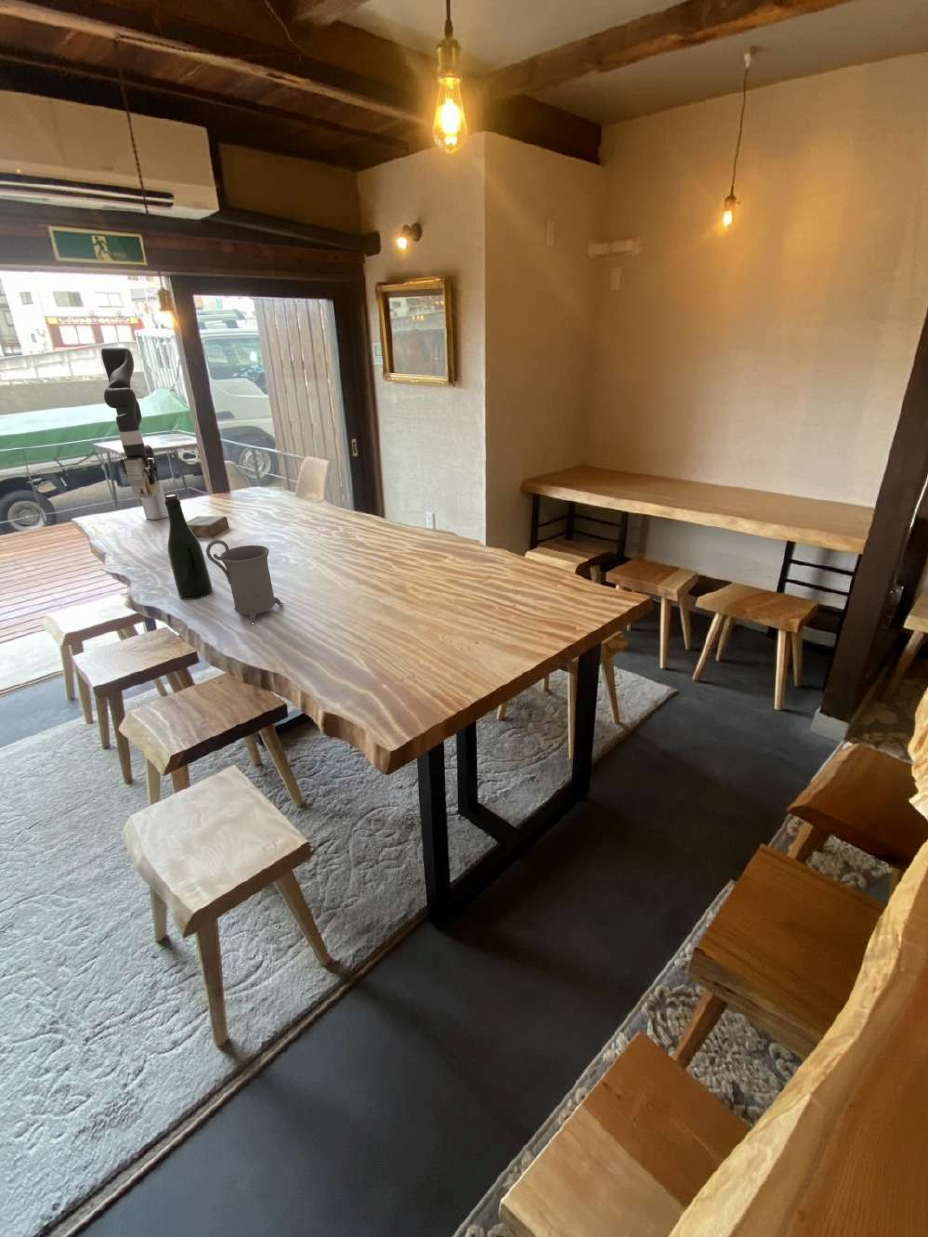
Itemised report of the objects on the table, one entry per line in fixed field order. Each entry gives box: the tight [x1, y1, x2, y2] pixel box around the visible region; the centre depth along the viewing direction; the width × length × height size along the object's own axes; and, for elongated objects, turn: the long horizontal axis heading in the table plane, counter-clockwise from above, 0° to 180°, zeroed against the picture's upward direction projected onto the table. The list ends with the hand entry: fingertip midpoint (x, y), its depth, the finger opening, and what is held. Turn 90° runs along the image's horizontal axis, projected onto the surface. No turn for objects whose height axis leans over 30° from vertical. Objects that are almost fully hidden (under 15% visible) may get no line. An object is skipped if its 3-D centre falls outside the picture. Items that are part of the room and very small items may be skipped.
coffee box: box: [122, 454, 160, 500], centre depth 239 cm, size 9×6×16 cm
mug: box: [205, 539, 284, 624], centre depth 175 cm, size 19×15×25 cm
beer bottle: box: [164, 494, 213, 599], centre depth 189 cm, size 10×10×33 cm
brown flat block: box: [186, 515, 230, 539], centre depth 256 cm, size 14×14×5 cm
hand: (144, 484), depth 240 cm, fingers closed on coffee box, 6 cm apart
